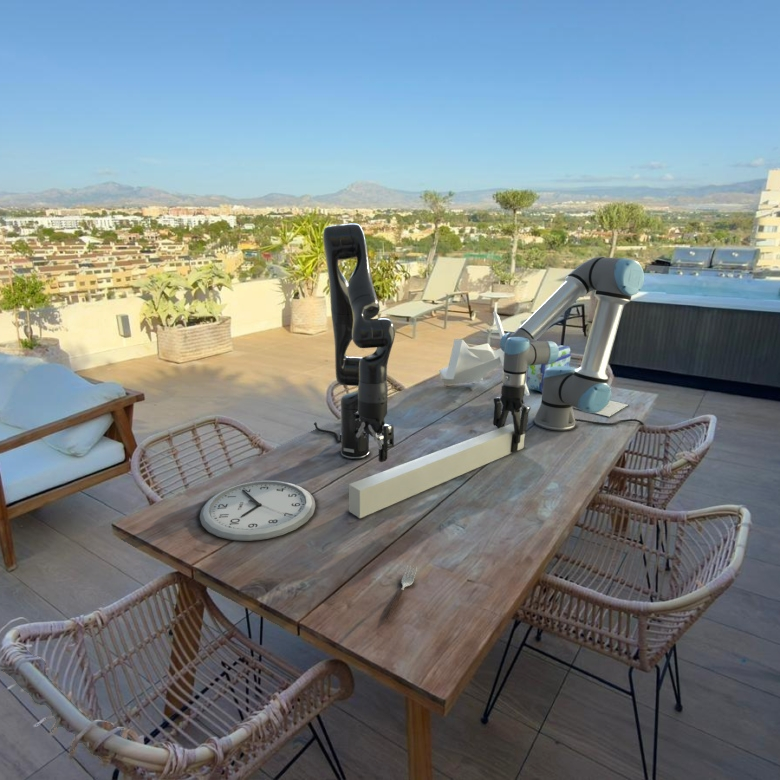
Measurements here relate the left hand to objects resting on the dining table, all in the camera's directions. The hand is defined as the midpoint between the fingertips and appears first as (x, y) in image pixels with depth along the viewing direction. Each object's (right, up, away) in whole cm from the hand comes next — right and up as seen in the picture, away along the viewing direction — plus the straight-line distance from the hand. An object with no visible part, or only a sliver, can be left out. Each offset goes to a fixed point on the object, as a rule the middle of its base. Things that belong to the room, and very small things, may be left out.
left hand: (372, 455), depth 137 cm
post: (+23, -9, +24) cm, 34 cm away
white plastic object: (+46, +16, +106) cm, 117 cm away
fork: (+7, -25, -29) cm, 39 cm away
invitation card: (+96, +10, +89) cm, 131 cm away
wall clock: (-30, -15, +3) cm, 34 cm away
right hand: (+45, -3, +43) cm, 62 cm away
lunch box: (+80, +18, +114) cm, 140 cm away
